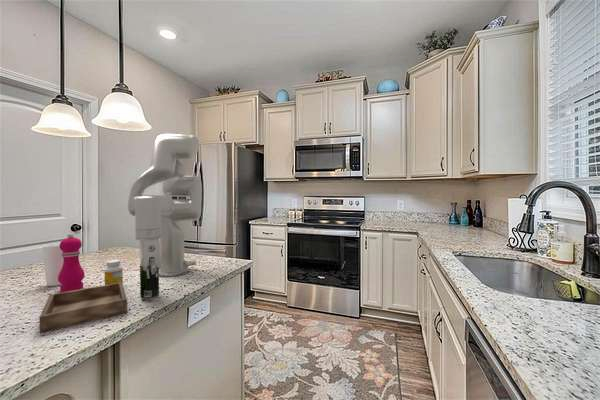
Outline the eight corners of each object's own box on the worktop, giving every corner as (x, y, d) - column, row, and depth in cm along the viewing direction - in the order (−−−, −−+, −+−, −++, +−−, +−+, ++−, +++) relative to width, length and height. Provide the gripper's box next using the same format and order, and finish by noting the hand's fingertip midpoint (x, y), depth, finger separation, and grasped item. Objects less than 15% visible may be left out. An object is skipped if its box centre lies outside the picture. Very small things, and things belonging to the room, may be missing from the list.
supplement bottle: (102, 288, 96) (101, 261, 96) (119, 284, 100) (118, 258, 100) (108, 291, 93) (107, 263, 92) (125, 287, 97) (125, 260, 97)
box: (122, 293, 91) (122, 282, 90) (127, 313, 76) (126, 299, 76) (50, 307, 80) (49, 294, 80) (39, 333, 65) (39, 317, 65)
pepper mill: (69, 293, 91) (68, 235, 90) (52, 292, 92) (51, 234, 91) (90, 286, 98) (88, 232, 97) (74, 285, 99) (72, 231, 99)
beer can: (158, 298, 86) (158, 262, 86) (139, 301, 84) (138, 264, 84) (159, 293, 91) (158, 258, 91) (141, 295, 89) (140, 260, 89)
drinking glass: (54, 281, 103) (53, 242, 102) (73, 281, 103) (72, 242, 103) (38, 287, 96) (37, 246, 96) (58, 287, 97) (57, 246, 96)
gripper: (167, 236, 82) (167, 291, 83) (157, 230, 96) (157, 277, 97) (138, 238, 78) (139, 296, 78) (132, 231, 92) (133, 281, 92)
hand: (149, 285), depth 87 cm, fingers open, 9 cm apart
